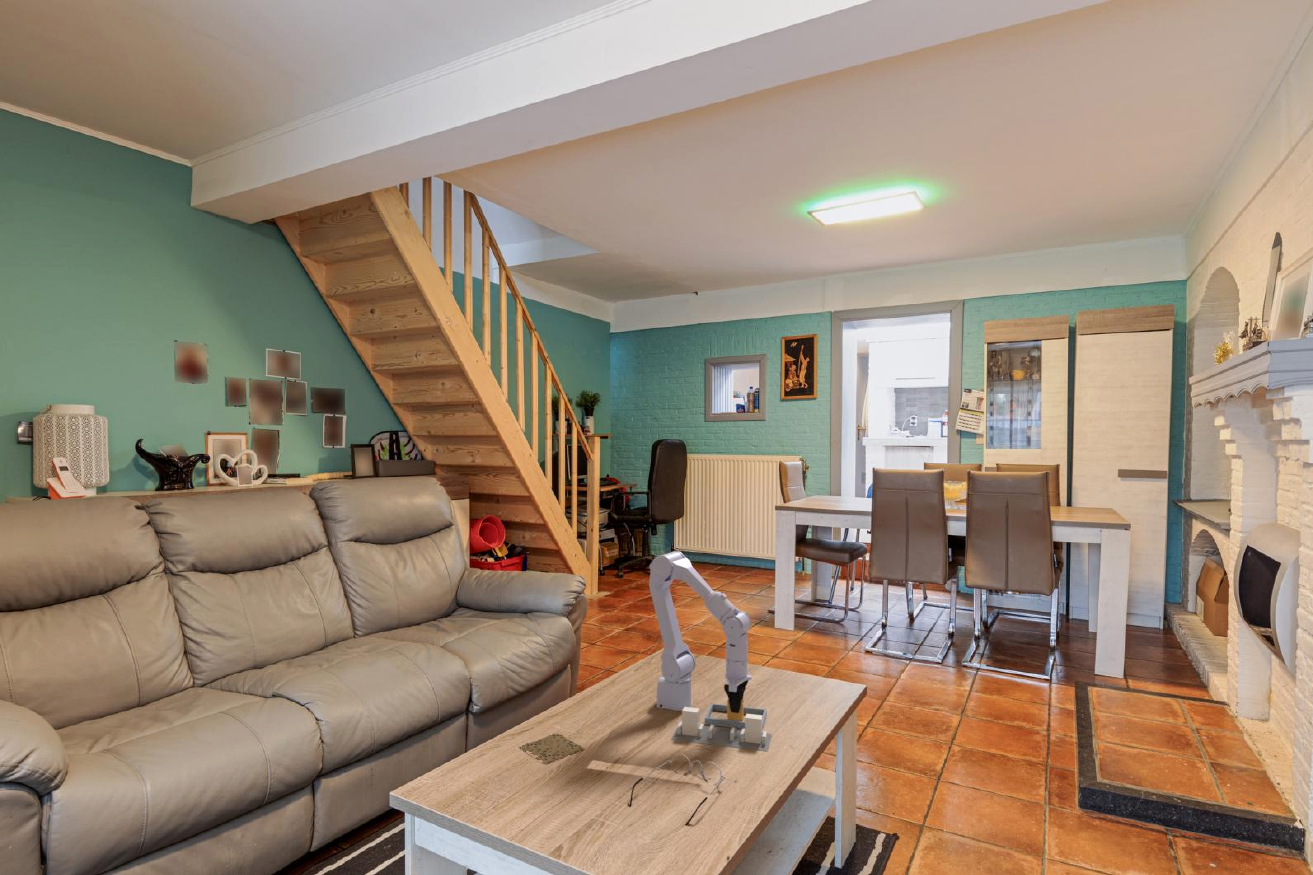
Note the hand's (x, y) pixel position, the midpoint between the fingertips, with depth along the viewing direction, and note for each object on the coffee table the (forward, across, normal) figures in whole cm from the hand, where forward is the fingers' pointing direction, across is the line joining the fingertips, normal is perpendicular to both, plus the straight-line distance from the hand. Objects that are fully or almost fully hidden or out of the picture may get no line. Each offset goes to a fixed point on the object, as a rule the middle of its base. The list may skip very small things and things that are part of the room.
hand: (736, 709), depth 185 cm
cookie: (+5, -26, +42) cm, 50 cm away
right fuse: (+3, -12, -6) cm, 13 cm away
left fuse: (+3, -12, +10) cm, 15 cm away
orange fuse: (+4, 0, 0) cm, 4 cm away
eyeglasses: (+5, -39, +7) cm, 40 cm away
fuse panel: (+4, -12, +2) cm, 12 cm away
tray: (+4, 0, 0) cm, 4 cm away
